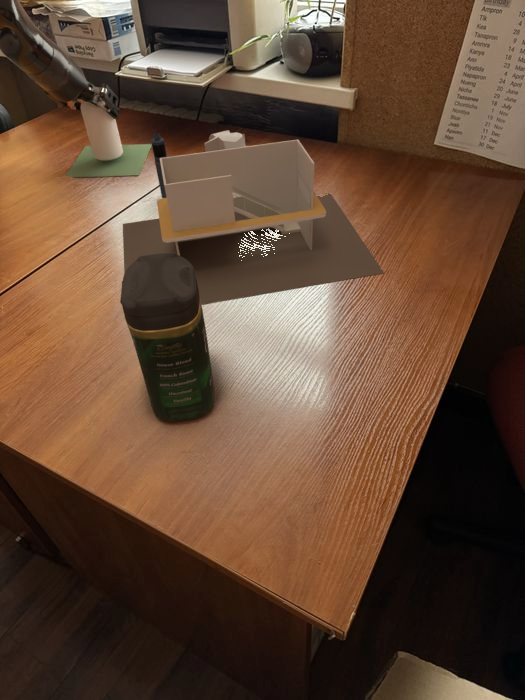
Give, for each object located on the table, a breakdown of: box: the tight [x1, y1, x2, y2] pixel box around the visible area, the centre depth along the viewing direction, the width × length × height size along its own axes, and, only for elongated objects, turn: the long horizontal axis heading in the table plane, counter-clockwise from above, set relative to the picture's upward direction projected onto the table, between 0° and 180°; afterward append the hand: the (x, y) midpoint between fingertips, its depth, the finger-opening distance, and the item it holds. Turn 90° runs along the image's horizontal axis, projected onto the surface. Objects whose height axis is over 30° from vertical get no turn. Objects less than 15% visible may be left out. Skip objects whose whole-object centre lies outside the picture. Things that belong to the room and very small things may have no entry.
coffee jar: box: [119, 253, 215, 423], centre depth 56 cm, size 10×8×19 cm
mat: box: [65, 143, 153, 179], centre depth 113 cm, size 16×16×1 cm
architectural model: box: [156, 139, 327, 253], centre depth 80 cm, size 26×13×15 cm, turn 102°
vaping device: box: [150, 133, 173, 198], centre depth 95 cm, size 3×5×12 cm, turn 55°
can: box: [80, 94, 123, 161], centre depth 108 cm, size 6×6×12 cm
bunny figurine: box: [203, 129, 247, 152], centre depth 109 cm, size 10×5×15 cm
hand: (102, 113), depth 107 cm, fingers closed on can, 6 cm apart
